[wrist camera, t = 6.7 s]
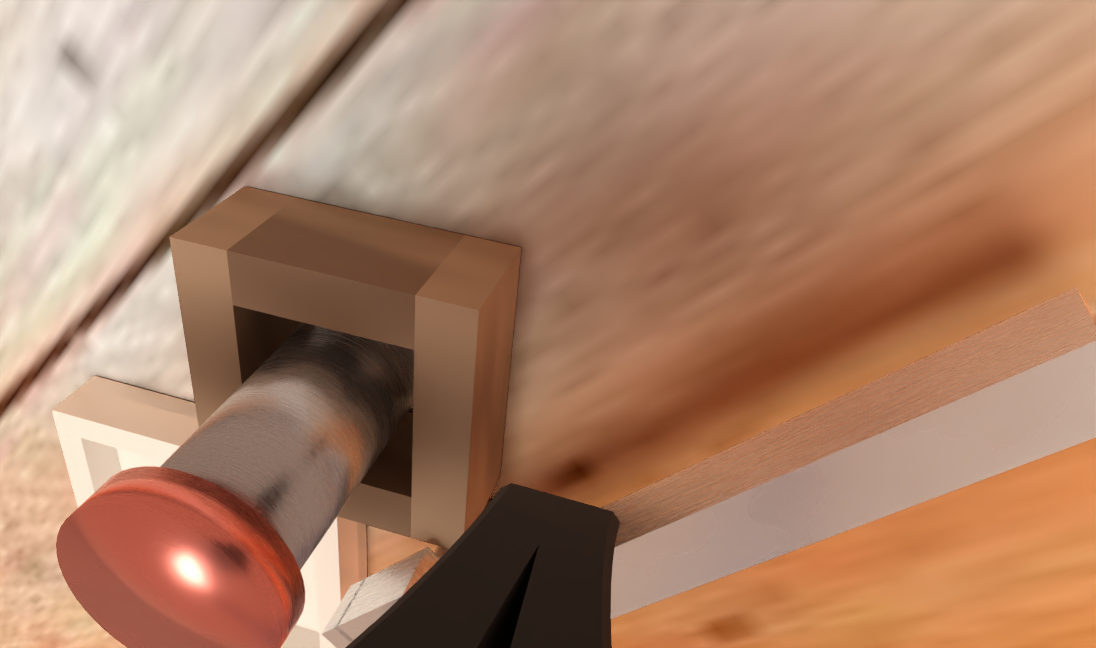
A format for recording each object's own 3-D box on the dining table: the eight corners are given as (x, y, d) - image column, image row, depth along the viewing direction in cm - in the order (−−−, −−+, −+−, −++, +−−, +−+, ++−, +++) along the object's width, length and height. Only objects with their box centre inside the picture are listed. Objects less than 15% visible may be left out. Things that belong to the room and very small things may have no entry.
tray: (368, 645, 30) (345, 690, 29) (140, 574, 32) (106, 612, 30) (364, 449, 25) (335, 490, 24) (94, 375, 27) (51, 409, 25)
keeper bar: (443, 674, 24) (421, 725, 23) (350, 585, 23) (321, 633, 22) (1152, 404, 15) (1185, 464, 13) (1043, 237, 14) (1065, 284, 12)
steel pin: (454, 423, 24) (285, 709, 16) (308, 385, 24) (82, 641, 17) (462, 285, 21) (267, 546, 14) (299, 247, 22) (32, 475, 15)
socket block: (499, 474, 24) (462, 552, 22) (266, 412, 25) (206, 478, 23) (521, 247, 20) (478, 309, 18) (245, 186, 22) (169, 237, 19)
